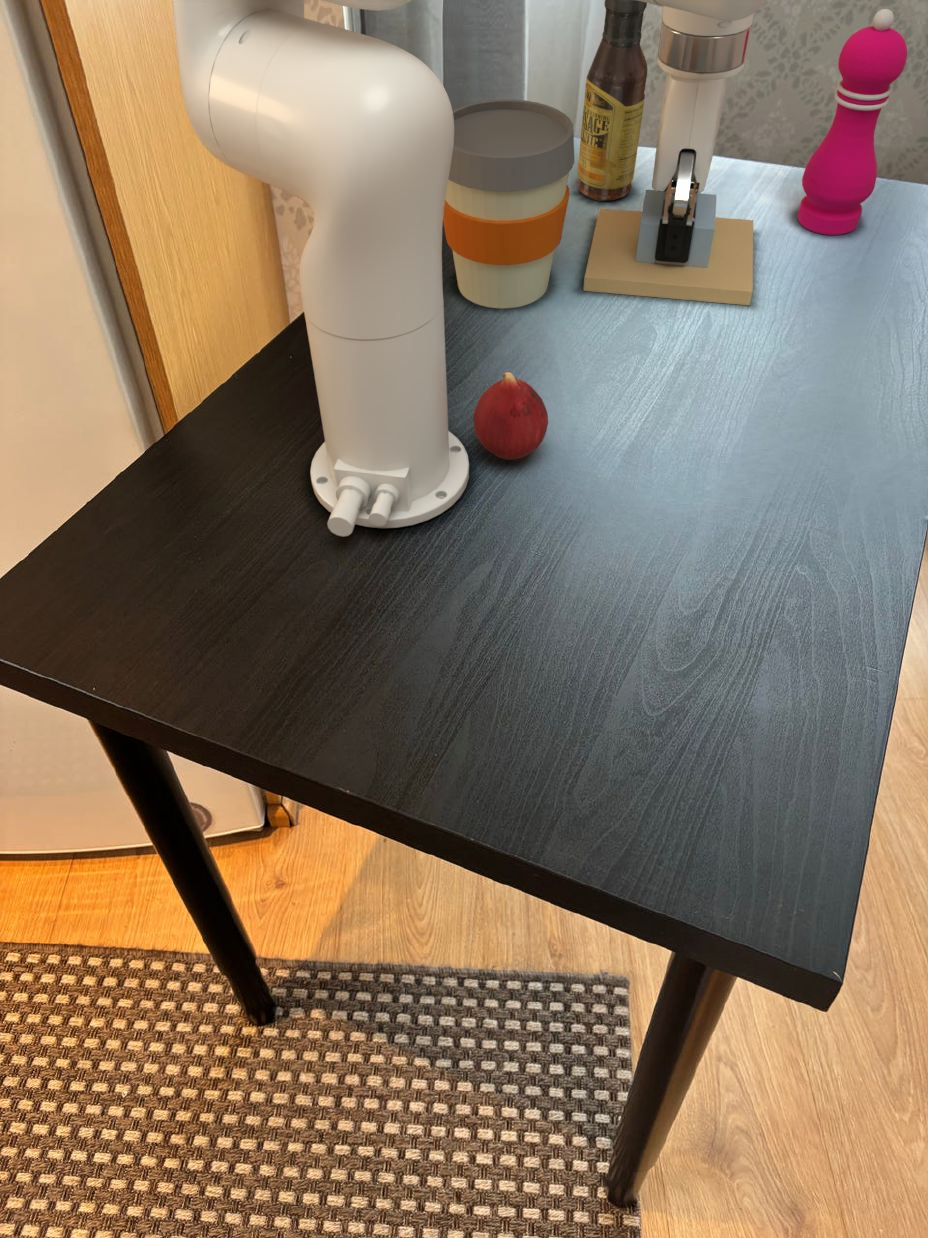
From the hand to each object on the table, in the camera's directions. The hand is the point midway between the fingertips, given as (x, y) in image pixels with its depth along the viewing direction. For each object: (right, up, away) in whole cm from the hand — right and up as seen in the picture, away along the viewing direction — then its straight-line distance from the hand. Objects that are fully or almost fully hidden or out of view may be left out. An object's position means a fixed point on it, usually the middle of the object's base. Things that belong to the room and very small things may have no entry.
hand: (673, 239), depth 97 cm
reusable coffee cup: (-17, -5, 0) cm, 18 cm away
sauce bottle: (-5, +10, +12) cm, 16 cm away
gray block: (0, -1, +1) cm, 1 cm away
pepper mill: (+18, +4, +7) cm, 20 cm away
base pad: (0, -2, +2) cm, 2 cm away
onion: (-17, -25, -18) cm, 35 cm away
